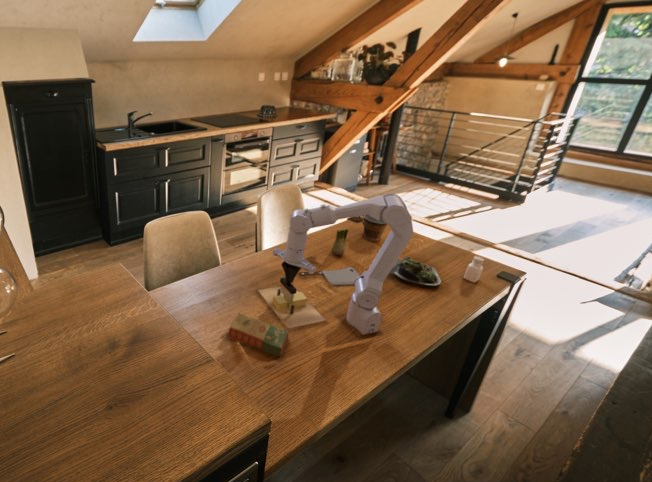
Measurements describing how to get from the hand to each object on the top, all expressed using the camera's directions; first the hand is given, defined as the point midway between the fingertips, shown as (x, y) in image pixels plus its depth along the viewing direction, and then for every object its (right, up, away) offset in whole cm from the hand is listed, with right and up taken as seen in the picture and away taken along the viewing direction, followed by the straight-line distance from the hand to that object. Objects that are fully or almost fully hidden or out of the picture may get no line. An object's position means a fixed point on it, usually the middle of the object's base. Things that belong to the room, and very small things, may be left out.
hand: (289, 281), depth 126 cm
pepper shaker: (+77, -4, +22) cm, 80 cm away
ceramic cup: (+52, +10, +52) cm, 75 cm away
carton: (-13, -15, -10) cm, 23 cm away
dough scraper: (-1, -6, +2) cm, 6 cm away
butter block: (+3, -8, +4) cm, 10 cm away
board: (+1, -9, +4) cm, 10 cm away
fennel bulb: (+31, +4, +37) cm, 49 cm away
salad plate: (+56, -3, +24) cm, 60 cm away
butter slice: (-3, -9, +2) cm, 10 cm away
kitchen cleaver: (+22, -3, +21) cm, 30 cm away
